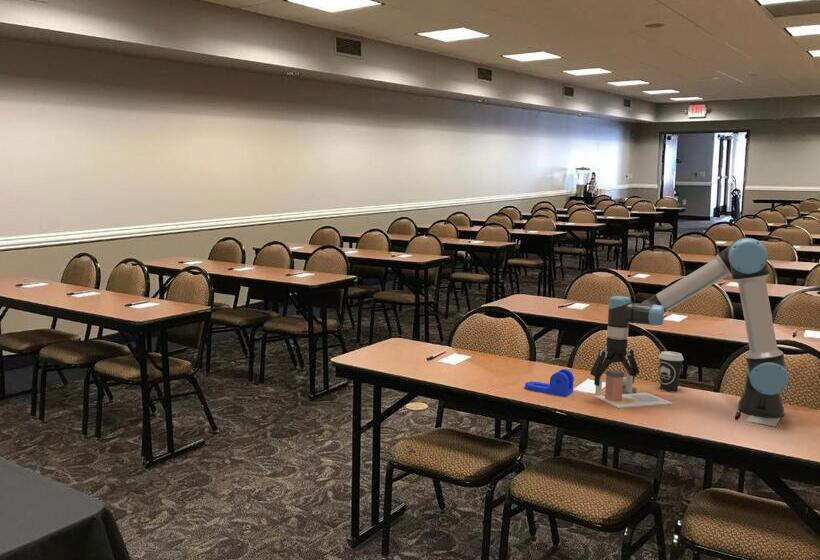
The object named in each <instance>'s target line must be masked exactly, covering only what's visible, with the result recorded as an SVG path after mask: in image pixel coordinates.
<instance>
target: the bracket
mask: <svg viewBox="0 0 820 560" xmlns="http://www.w3.org/2000/svg"><path fill="white" fill-rule="evenodd" d="M574 381H575V377H574V374H573V372H571V370H569V369H567V368H562V369H560V370H558V371H556V372H555V373H553V374H552V375H551V376H550V378H549V383H547V382H541V381H527V382H525V383H524V389H525V390H527V391H530V392H535V393H541V394H549V395H551V396H559V397H562V398H564V397H565V398H568V396H570V395H571V394H573V393H574Z"/></svg>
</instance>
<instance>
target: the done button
mask: <svg viewBox="0 0 820 560" xmlns="http://www.w3.org/2000/svg"><path fill="white" fill-rule="evenodd" d="M626 380H627V376H625V375H624V377H623V388H626Z"/></svg>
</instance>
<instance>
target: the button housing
mask: <svg viewBox="0 0 820 560" xmlns="http://www.w3.org/2000/svg"><path fill="white" fill-rule="evenodd" d="M632 393H637V387H635V386H632ZM622 394H631V393H629V392H627V391H626V388H623V389H622Z"/></svg>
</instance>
